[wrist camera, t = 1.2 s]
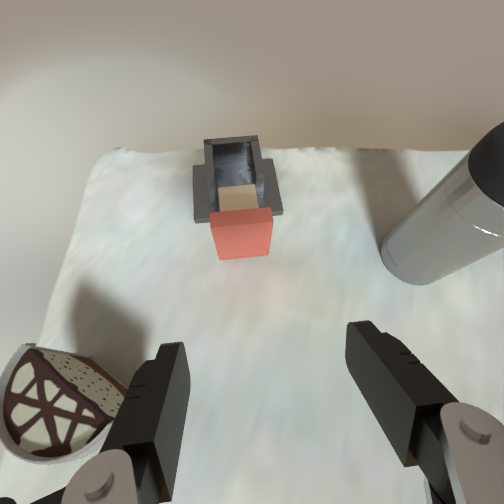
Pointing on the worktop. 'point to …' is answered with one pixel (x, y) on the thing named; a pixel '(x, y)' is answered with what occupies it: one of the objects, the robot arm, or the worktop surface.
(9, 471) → the worktop surface
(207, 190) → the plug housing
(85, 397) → the food container
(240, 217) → the red plug
